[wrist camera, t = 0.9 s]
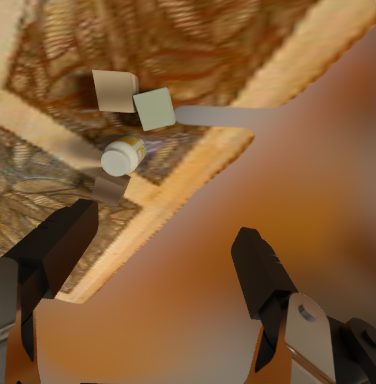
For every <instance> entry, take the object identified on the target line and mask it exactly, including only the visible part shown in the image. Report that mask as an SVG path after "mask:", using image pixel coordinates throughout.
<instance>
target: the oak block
mask: <svg viewBox="0 0 376 384" xmlns="http://www.w3.org/2000/svg"><path fill="white" fill-rule="evenodd" d="M92 72H93V77H94V83H95V88H96V94H97V99H98V105H99V110H100V111H112V112H130V113H134V112H138V110H137V107H136V104H135V101H134V98H133V96H134V95H138V94H139V85H138V77H136V76H135V75H133V74H131V73H128V72H114V71H99V70H92Z"/></svg>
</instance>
